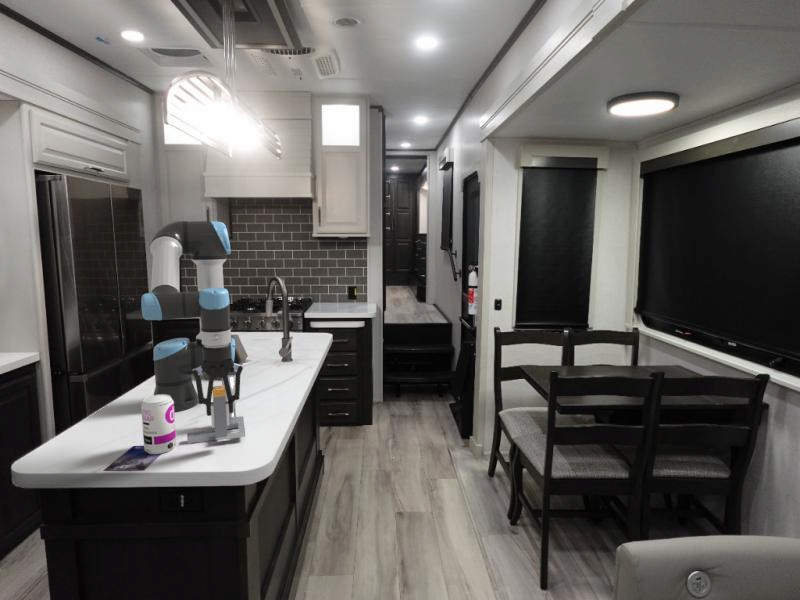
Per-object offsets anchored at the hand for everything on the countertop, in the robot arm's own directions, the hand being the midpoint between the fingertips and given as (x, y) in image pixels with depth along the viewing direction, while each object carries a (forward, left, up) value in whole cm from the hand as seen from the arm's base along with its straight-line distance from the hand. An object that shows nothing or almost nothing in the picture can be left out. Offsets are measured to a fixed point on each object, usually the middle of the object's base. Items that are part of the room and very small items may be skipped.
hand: (220, 424), depth 137 cm
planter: (+1, +71, -8) cm, 72 cm away
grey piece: (-1, +12, -8) cm, 14 cm away
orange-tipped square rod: (0, 0, -3) cm, 3 cm away
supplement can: (-16, +6, -8) cm, 19 cm away
